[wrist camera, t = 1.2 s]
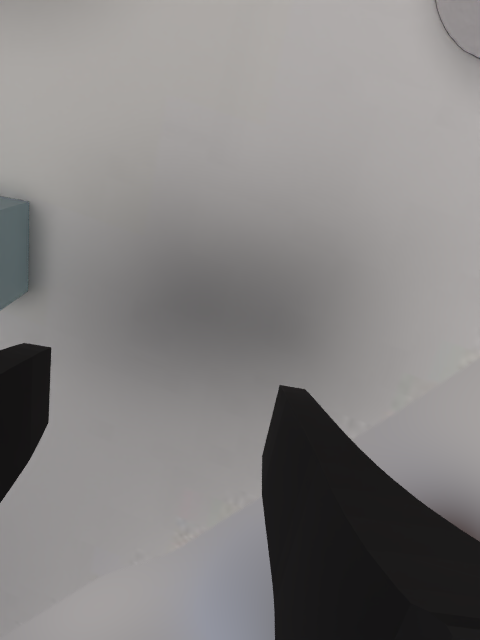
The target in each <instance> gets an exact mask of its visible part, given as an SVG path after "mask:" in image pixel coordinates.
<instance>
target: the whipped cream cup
mask: <svg viewBox="0 0 480 640" xmlns="http://www.w3.org/2000/svg"><path fill="white" fill-rule="evenodd" d="M436 4H437V8H438V12H439V15H440V17H441V20H442V22H443V24H444V26H445V29H446V30H447V31H448V33H449V35H450V36H451V37H452V38H453V39H454V40H455V41H456V43H457V44H458V45H459V46H460V47H461V48H462V49H463V50H464V51H466V52H468V53H471V54H473V55H474V56H476V57H479V58H480V0H436Z"/></svg>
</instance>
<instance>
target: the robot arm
mask: <svg viewBox="0 0 480 640" xmlns="http://www.w3.org/2000/svg"><path fill="white" fill-rule="evenodd" d="M50 366H51V347H45V346H39V345H32V344H26V343H23V344H19V345H15V346H12V347H9V348H6V349H3V350H0V503H1V501H2V500H3V498H4V497H5V495H6V494H7V492H8V491H9V490H10V488H11V487H12V485H13V484H14V482H15V481H16V479H17V478H18V476H19V475H20V473H21V472H22V471H23V469H24V468H25V466H26V465H27V463H28V461H29V460H30V458H31V456H32V454H33V453H34V451H35V449H36V447H37V445H38V443H39V441H40V439H41V437H42V435H43V433H44V430H45V428H46V426H47V424H48V418H49V392H50ZM262 498H263V507H264V516H265V525H266V533H267V540H268V550H269V557H270V566H271V575H272V583H273V594H274V609H275V640H480V542H479V541H478V540H476V539H474V538H473V537H471V536H470V535H468V534H467V533H465V532H463V531H462V530H460V529H459V528H457V527H456V526H454V525H453V524H452V523H450V522H449V521H447V520H446V519H444V518H443V517H441V516H440V515H438V514H437V513H436V512H434V511H433V510H431V509H430V508H428V507H427V506H426V505H425V504H423V503H422V502H421V501H419V500H418V499H416V498H415V497H414V496H413V495H412V494H410V493H409V492H408V491H407V490H405V489H404V488H403V487H402V486H400V485H399V484H398V483H397V482H395V481H394V480H393V479H392V478H391V477H390V476H388V475H387V474H386V473H385V472H384V471H383V470H382V469H380V468H379V467H378V466H377V465H376V464H375V463H374V462H373V461H372V460H371V459H370V458H369V457H368V456H367V455H365V453H364V452H362V451H361V450H360V449H359V448H358V447H357V445H355V443H354V442H353V441H352V440H351V439H350V438H349V437H348V436H347V435H346V434H345V433H344V432H343V431H342V430H341V429H340V428H339V426H338V425H337V424H336V423H335V422H334V421H333V420H332V419H331V418H330V416H329V415H328V414H327V413H326V412H325V411H324V410H323V408H322V407H321V406H320V405H319V404H318V403H317V402H316V400H315V399H314V398H313V397H312V396H311V395H310V394H309V393H308V392H307V391H306V390H305V389H300V388H294V387H288V386H282V385H280V386H279V390H278V394H277V398H276V402H275V406H274V411H273V415H272V419H271V423H270V427H269V431H268V435H267V439H266V443H265V447H264V451H263V455H262Z"/></svg>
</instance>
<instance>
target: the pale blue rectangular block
mask: <svg viewBox="0 0 480 640" xmlns="http://www.w3.org/2000/svg"><path fill="white" fill-rule="evenodd" d="M28 254H29V201H24V200H18V199H13V198H7V197H2V196H0V310H2V309H3V308H5V307H6V306H7V305H9V304H10V303H12V302H13V301H14V300H16V299H17V298H19V297H20V296H21V295H23V294H24V293H26V292H27V291H28Z"/></svg>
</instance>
